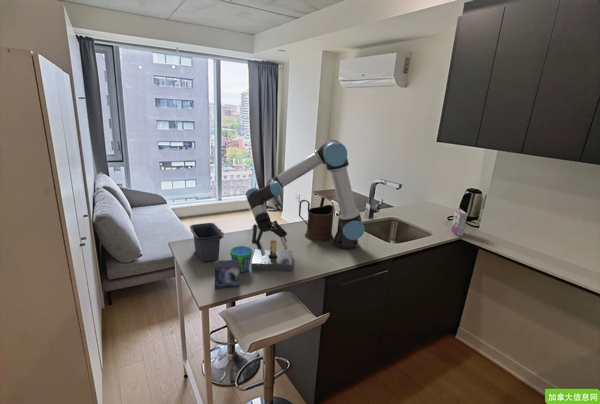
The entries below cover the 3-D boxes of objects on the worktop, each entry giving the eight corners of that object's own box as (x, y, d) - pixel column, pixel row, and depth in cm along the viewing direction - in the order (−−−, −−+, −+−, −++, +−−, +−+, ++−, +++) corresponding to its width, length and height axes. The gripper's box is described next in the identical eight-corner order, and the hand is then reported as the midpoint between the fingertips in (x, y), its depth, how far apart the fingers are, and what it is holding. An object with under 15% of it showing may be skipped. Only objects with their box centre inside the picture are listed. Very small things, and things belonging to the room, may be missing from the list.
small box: (214, 289, 131) (214, 267, 128) (214, 281, 137) (214, 260, 134) (239, 287, 134) (239, 265, 131) (238, 279, 140) (238, 259, 137)
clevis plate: (291, 256, 166) (292, 250, 165) (291, 271, 150) (292, 264, 149) (255, 255, 165) (255, 249, 164) (251, 269, 149) (251, 263, 148)
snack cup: (249, 278, 142) (249, 258, 139) (226, 276, 142) (226, 257, 139) (254, 262, 157) (254, 244, 154) (233, 261, 157) (233, 243, 154)
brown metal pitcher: (338, 240, 191) (342, 202, 184) (303, 244, 182) (305, 204, 176) (325, 230, 208) (328, 194, 201) (292, 233, 199) (294, 196, 192)
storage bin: (189, 249, 167) (188, 224, 163) (217, 244, 175) (216, 221, 171) (198, 266, 150) (197, 239, 146) (228, 260, 158) (228, 234, 154)
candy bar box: (450, 230, 222) (455, 208, 218) (457, 231, 222) (462, 209, 217) (455, 235, 212) (460, 213, 207) (463, 236, 211) (468, 214, 207)
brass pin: (275, 261, 159) (276, 240, 156) (275, 264, 156) (276, 242, 153) (269, 261, 159) (270, 240, 156) (269, 264, 156) (270, 242, 153)
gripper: (277, 215, 171) (292, 249, 164) (237, 222, 156) (251, 260, 149) (283, 208, 166) (298, 243, 158) (242, 215, 151) (256, 254, 144)
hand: (275, 251), depth 154 cm, fingers open, 13 cm apart
